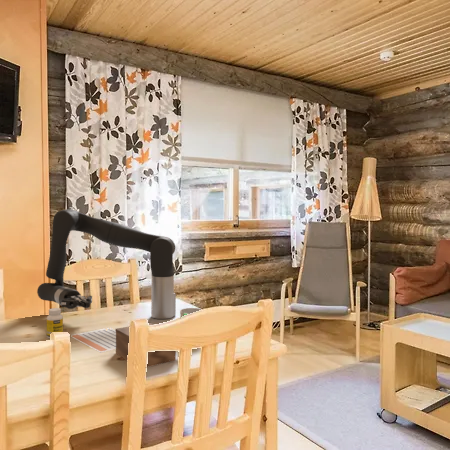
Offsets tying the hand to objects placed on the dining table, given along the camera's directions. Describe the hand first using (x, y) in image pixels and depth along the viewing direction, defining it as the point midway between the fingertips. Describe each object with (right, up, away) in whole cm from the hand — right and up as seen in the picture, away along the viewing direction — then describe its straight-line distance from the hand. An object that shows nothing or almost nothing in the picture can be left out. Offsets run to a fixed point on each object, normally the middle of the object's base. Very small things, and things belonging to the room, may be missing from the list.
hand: (87, 305), depth 166 cm
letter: (+10, -10, -11) cm, 18 cm away
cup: (+39, -10, -10) cm, 42 cm away
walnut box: (+27, -11, -28) cm, 40 cm away
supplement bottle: (-9, -10, -9) cm, 16 cm away
